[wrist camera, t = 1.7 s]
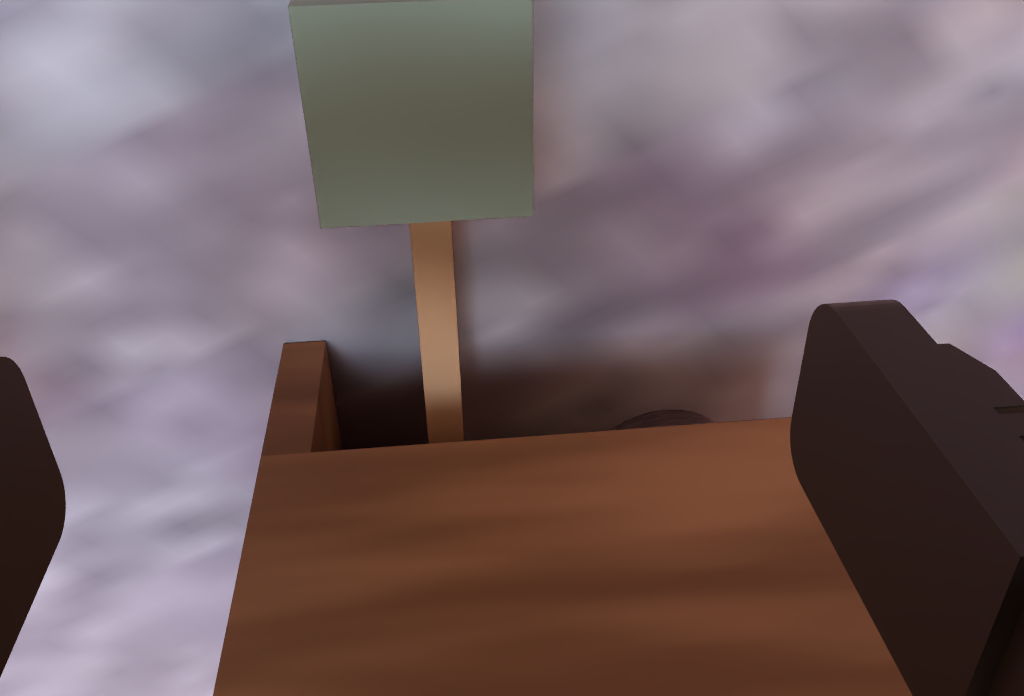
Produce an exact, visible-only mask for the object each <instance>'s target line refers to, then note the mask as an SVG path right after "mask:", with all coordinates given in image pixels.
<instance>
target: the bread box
mask: <svg viewBox="0 0 1024 696" xmlns="http://www.w3.org/2000/svg"><path fill="white" fill-rule="evenodd" d="M791 419H792V417H788V418H774V419H760V420H747V421H733V422H719V423H706V424H692V425H679V426H665V427H651V428H638V429H624V430H610V431H597V432H583V433H569V434H556V435H542V436H528V437H515V438H501V439H488V440H474V441H460V442H447V443H433V444H419V445H406V446H392V447H378V448H365V449H351V450H342V444H341V437H340V431H339V424H338V418H337V411H336V405H335V399H334V392H333V386H332V379H331V373H330V366H329V360H328V354H327V347H326V341H316V342H301V343H285V344H284V345H283V350H282V355H281V360H280V365H279V370H278V374H277V379H276V384H275V389H274V394H273V399H272V404H271V409H270V414H269V419H268V424H267V429H266V434H265V439H264V444H263V449H262V454H261V459H260V464H259V469H258V474H257V479H256V484H255V489H254V494H253V499H252V504H251V509H250V514H249V519H248V524H247V529H246V534H245V539H244V544H243V549H242V554H241V559H240V564H239V569H238V574H237V579H236V584H235V589H234V594H233V599H232V604H231V609H230V614H229V619H228V624H227V628H226V633H225V638H224V643H223V648H222V653H221V658H220V663H219V668H218V673H217V678H216V683H215V688H214V693H213V696H912V694H911V692H910V690H909V688H908V686H907V684H906V682H905V681H904V679H903V677H902V675H901V673H900V671H899V669H898V667H897V665H896V664H895V662H894V660H893V658H892V656H891V654H890V652H889V650H888V648H887V647H886V645H885V643H884V641H883V639H882V637H881V635H880V633H879V631H878V630H877V628H876V626H875V624H874V622H873V620H872V618H871V616H870V615H869V613H868V611H867V609H866V607H865V605H864V603H863V601H862V599H861V598H860V596H859V594H858V592H857V590H856V588H855V586H854V584H853V582H852V581H851V579H850V577H849V575H848V573H847V571H846V569H845V567H844V566H843V564H842V562H841V560H840V558H839V556H838V554H837V552H836V550H835V549H834V547H833V545H832V543H831V541H830V539H829V537H828V535H827V533H826V532H825V530H824V528H823V526H822V524H821V522H820V520H819V518H818V517H817V515H816V513H815V511H814V509H813V507H812V505H811V503H810V501H809V500H808V498H807V496H806V494H805V492H804V490H803V488H802V486H801V484H800V482H799V480H798V478H797V475H796V472H795V469H794V465H793V460H792V455H791V447H790V426H791Z"/></svg>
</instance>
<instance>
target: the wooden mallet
mask: <svg viewBox="0 0 1024 696" xmlns="http://www.w3.org/2000/svg"><path fill="white" fill-rule="evenodd" d="M288 10H289V17H290V23H291V30H292V37H293V44H294V51H295V57H296V64H297V71H298V78H299V85H300V91H301V98H302V105H303V112H304V119H305V125H306V132H307V139H308V146H309V153H310V159H311V166H312V173H313V180H314V187H315V193H316V200H317V207H318V214H319V221H320V227H321V228H338V227H355V226H373V225H390V224H407V223H410V234H411V246H412V257H413V269H414V280H415V292H416V303H417V315H418V326H419V338H420V349H421V361H422V372H423V383H424V395H425V406H426V418H427V429H428V441H429V444H433V443H447V442H460V441H464V432H463V415H462V398H461V381H460V365H459V348H458V331H457V314H456V297H455V280H454V264H453V247H452V230H451V221H459V220H476V219H494V218H511V217H528V216H534V204H533V0H291V1H290V3H289V5H288Z"/></svg>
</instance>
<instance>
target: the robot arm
mask: <svg viewBox="0 0 1024 696" xmlns="http://www.w3.org/2000/svg"><path fill="white" fill-rule="evenodd" d="M790 447H791V455H792V460H793V465H794V469H795V472H796V475H797V478H798V480H799V482H800V484H801V486H802V488H803V490H804V492H805V494H806V496H807V498H808V500H809V501H810V503H811V505H812V507H813V509H814V511H815V513H816V515H817V517H818V518H819V520H820V522H821V524H822V526H823V528H824V530H825V532H826V533H827V535H828V537H829V539H830V541H831V543H832V545H833V547H834V549H835V550H836V552H837V554H838V556H839V558H840V560H841V562H842V564H843V566H844V567H845V569H846V571H847V573H848V575H849V577H850V579H851V581H852V582H853V584H854V586H855V588H856V590H857V592H858V594H859V596H860V598H861V599H862V601H863V603H864V605H865V607H866V609H867V611H868V613H869V615H870V616H871V618H872V620H873V622H874V624H875V626H876V628H877V630H878V631H879V633H880V635H881V637H882V639H883V641H884V643H885V645H886V647H887V648H888V650H889V652H890V654H891V656H892V658H893V660H894V662H895V664H896V665H897V667H898V669H899V671H900V673H901V675H902V677H903V679H904V681H905V682H906V684H907V686H908V688H909V690H910V692H911V694H912V696H1024V400H1023V399H1022V398H1021V397H1020V396H1019V395H1018V394H1017V393H1016V392H1015V391H1014V390H1013V389H1012V388H1011V387H1010V385H1009V384H1008V383H1007V382H1006V381H1005V380H1004V379H1003V378H1002V377H1001V376H1000V375H999V374H998V373H997V372H996V371H995V370H993V369H992V368H990V367H988V366H987V365H985V364H983V363H982V362H980V361H978V360H976V359H975V358H973V357H971V356H970V355H968V354H966V353H965V352H963V351H961V350H959V349H958V348H956V347H954V346H953V345H951V344H937V343H936V342H935V341H934V340H933V339H932V338H931V336H930V335H929V334H928V333H927V332H926V331H925V330H924V328H923V327H922V326H921V325H920V324H919V323H918V322H917V320H916V319H915V318H914V317H913V316H912V315H911V314H910V313H909V311H908V310H907V309H906V308H905V307H904V306H903V305H902V304H901V303H900V302H898V301H896V300H877V301H862V302H847V303H832V304H822V305H820V306H818V307H817V308H816V310H815V311H814V313H813V315H812V317H811V320H810V324H809V328H808V333H807V338H806V344H805V349H804V355H803V360H802V365H801V371H800V376H799V381H798V387H797V392H796V398H795V403H794V408H793V414H792V419H791V426H790ZM65 510H66V501H65V490H64V484H63V480H62V477H61V473H60V471H59V468H58V465H57V463H56V460H55V457H54V455H53V452H52V449H51V447H50V444H49V442H48V439H47V436H46V434H45V431H44V428H43V426H42V423H41V420H40V418H39V415H38V412H37V410H36V407H35V405H34V402H33V399H32V397H31V394H30V391H29V389H28V386H27V383H26V381H25V378H24V376H23V374H22V372H21V370H20V368H19V367H18V366H17V364H16V363H15V362H14V361H13V360H11V359H10V358H7V357H0V677H1V674H2V672H3V670H4V667H5V665H6V663H7V660H8V658H9V656H10V654H11V651H12V649H13V647H14V644H15V642H16V640H17V637H18V635H19V633H20V631H21V628H22V626H23V624H24V621H25V619H26V617H27V614H28V612H29V610H30V607H31V605H32V603H33V601H34V598H35V596H36V594H37V591H38V589H39V587H40V584H41V582H42V580H43V578H44V575H45V573H46V571H47V568H48V566H49V564H50V561H51V559H52V557H53V555H54V552H55V550H56V548H57V545H58V543H59V541H60V538H61V535H62V531H63V527H64V521H65Z"/></svg>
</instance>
